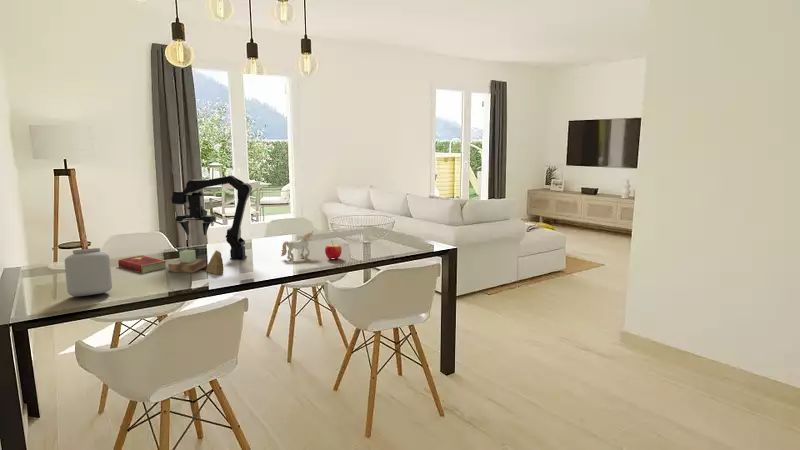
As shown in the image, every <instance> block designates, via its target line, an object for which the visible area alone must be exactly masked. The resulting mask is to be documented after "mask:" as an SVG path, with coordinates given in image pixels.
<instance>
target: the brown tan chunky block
mask: <svg viewBox="0 0 800 450" xmlns="http://www.w3.org/2000/svg"><path fill="white" fill-rule="evenodd" d="M223 262H224V261H223V258H222V253H221V251H220V250H215V251H214V253H212V256H211V257H210V261H209V262H208V263H207V264H206V269H205V272H207V273H209V274H213V275H223V274H224V263H223Z"/></svg>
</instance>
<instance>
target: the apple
mask: <svg viewBox="0 0 800 450" xmlns="http://www.w3.org/2000/svg"><path fill="white" fill-rule="evenodd" d="M331 243H332V244H330V245H329V244H328V245H326V246H325V248H324V251H325V252H324V253H325V255H326V258H328V259H329V260H333V261H335V260H338V259H339V258H340V257H341V254H342V252H343V251H342V246H341V245H340V244H334V242H333V241H332V240H331ZM338 257H339V258H338ZM331 258H335V259H331Z"/></svg>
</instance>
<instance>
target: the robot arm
mask: <svg viewBox="0 0 800 450" xmlns="http://www.w3.org/2000/svg"><path fill="white" fill-rule="evenodd" d="M227 184H228V185H230V186H232V188H233V189H235V190H236V191H237V193H236V194H237V204H236V207H235V211H234V212H235V213H234V216H233V221H232V224H231V227H229V228H228V229H227V230H226V235H225V238H226V242H227V243H228V244H229V246H230V250H229V254H230V258H229V260H239V261H241V260H244V259H246V258H247V257H248V256H247V255H246V246H245V244H246V240H245V239H244V238H242V227H241V226H242V221H243V218H244V215H245V214H244V212H245V210H246V209H245V208H246V206H247V205H246V204H247V201H248V199H249V198H250V196H251V194H252V190H253V187H252V185H251V184H250V183H248V182H244V181H243V180H240V179H239V178H237V177H235V175H232V174H231V175H227V176H222V177H215V178H211V179H191V180H188V181H187V182H186V184H185V188H184V190H183V191H176V190H175V191H173V192H172V196H171V203H172V205H175V206H179V205H180V206H181V205H182V206H185V205H187V203H188V207H187V210H188V214H178V215H176V216H175V222H177V223H178V224H180V225H181V227H182V228H183V231H184V232H185V233H186V235H187V236H189V235H190V228H189V226H190V225H189V223H190V221H203V222H202V230H203V235H204V236H207V233H208V231H209V228H210V225H211V224H212V223H214V222H216V219H217V218H216V216H215V215H214V214H212V215H211V214H209V215H208V210H205V209H203V207H204V206H202V202H201V197H204V196H205V195H206V194H205V193H204V192H202V190H203V189H206V188H210V187H215V186H221V185H227ZM197 191H198V192H197ZM190 193H191V194H190Z"/></svg>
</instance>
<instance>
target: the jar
mask: <svg viewBox="0 0 800 450" xmlns="http://www.w3.org/2000/svg"><path fill="white" fill-rule="evenodd" d="M83 233H84V234H83V235H84V236H86V231H84V232H83ZM87 241H88V239H87V238H85V241H84V242H85V243H87ZM85 246H86V247H87V246H88V244H86V245H85ZM72 253H73V254H71V255H68V256H66V257H65V259H64V268H65V281H66V289H67V294H68V295H69V296H72V297H84V296H91V295H92V296H93V295H98V294H99V295H100V294H104V293H107V292H110V291H111V290H112V289H113V281H112V279H113V278H112V268H111V257H110V255H109V254H108V253H107V252H102V251H101V247H97V248H96V247H94V248H83V249H75V250H74V249H73V250H72Z"/></svg>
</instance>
